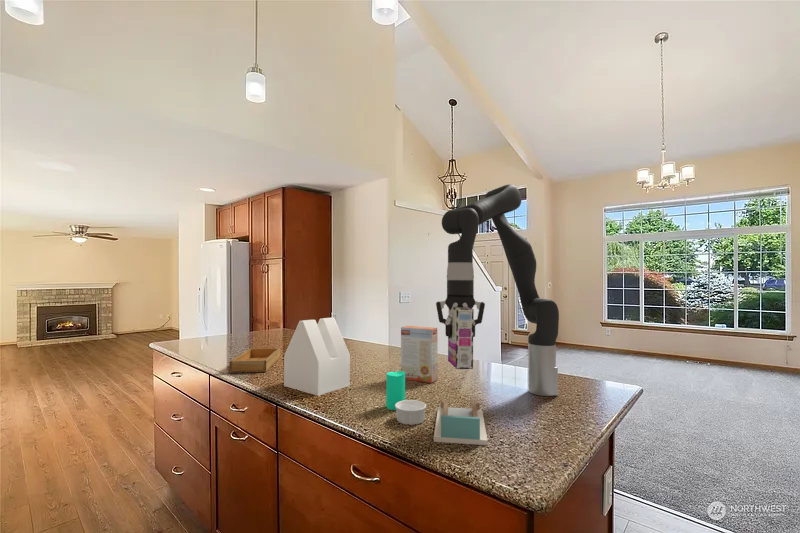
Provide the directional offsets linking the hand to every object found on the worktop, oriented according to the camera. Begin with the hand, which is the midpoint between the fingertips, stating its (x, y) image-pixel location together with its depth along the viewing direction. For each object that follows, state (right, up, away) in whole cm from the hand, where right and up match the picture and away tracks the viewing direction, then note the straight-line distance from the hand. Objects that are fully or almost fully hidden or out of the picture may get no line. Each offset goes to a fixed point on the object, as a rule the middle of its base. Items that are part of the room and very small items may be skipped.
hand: (460, 338), depth 107 cm
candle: (-18, -24, +12) cm, 33 cm away
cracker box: (-9, -25, +44) cm, 51 cm away
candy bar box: (0, -8, 0) cm, 8 cm away
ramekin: (-14, -24, +1) cm, 28 cm away
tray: (-84, -26, +68) cm, 111 cm away
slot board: (-1, -23, -4) cm, 24 cm away
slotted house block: (-48, -25, +35) cm, 64 cm away
